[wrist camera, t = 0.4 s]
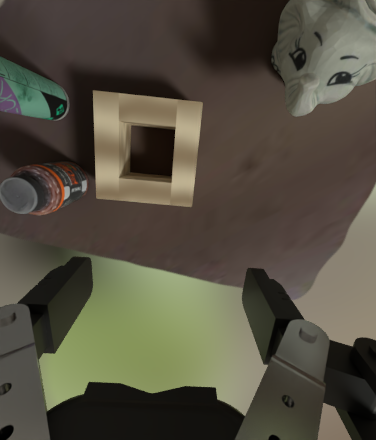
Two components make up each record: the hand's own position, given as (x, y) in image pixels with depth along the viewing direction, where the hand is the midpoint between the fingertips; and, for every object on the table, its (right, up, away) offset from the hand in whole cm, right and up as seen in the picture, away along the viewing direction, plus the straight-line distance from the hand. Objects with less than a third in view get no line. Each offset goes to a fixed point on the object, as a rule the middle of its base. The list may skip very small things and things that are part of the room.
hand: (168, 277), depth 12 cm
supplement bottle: (-19, +10, +28) cm, 35 cm away
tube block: (-5, +14, +26) cm, 30 cm away
